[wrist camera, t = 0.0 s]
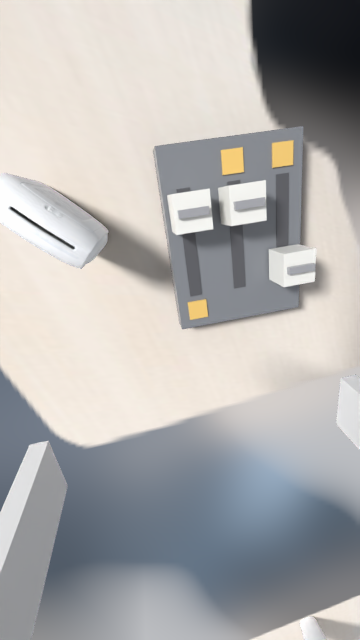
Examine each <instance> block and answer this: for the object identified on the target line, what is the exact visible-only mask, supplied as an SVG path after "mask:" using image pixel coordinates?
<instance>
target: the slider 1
mask: <svg viewBox="0 0 360 640" xmlns="http://www.w3.org/2000/svg"><path fill="white" fill-rule="evenodd" d="M167 200H168V207H169V213H170V220H171V227H172V232H173V233H175V234H176V235H180V234H186V233H193V232H199V231H205V230H211V229H213V220H212V209H211V197H210V188H209V189H203V190H196V191H189V192H183V193H176V194H170V195H167Z"/></svg>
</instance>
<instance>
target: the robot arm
mask: <svg viewBox="0 0 360 640" xmlns="http://www.w3.org/2000/svg"><path fill="white" fill-rule="evenodd" d="M336 419H337V420H336V425H337V426H338V427H339V428H340V429H341V430H342V431H343V432H344V433H345V435H346V436H347V437H348V438H349V439H350V440H351V441H352V442H353V443H354V444H355V445H356V446H357V447H358V449H359V450H360V377H359V376H357V375H352V376H347V377H342V378H341V379H340V388H339V398H338V408H337V418H336ZM66 490H67V483H66V481H65V479H64V476H63V474H62V471H61V469H60V467H59V464H58V462H57V460H56V457H55V455H54V453H53V450H52V448H51V446H50V443H49V441H45V442H40V443H36V444H31V445H30V446H29V448H28V450H27V452H26V455H25V457H24V459H23V461H22V464H21V466H20V468H19V471H18V473H17V475H16V478H15V480H14V482H13V485H12V487H11V489H10V491H9V494H8V496H7V498H6V501H5V503H4V505H3V508H2V510H1V512H0V640H31V638H32V634H33V630H34V626H35V622H36V617H37V613H38V609H39V605H40V600H41V596H42V592H43V588H44V583H45V579H46V575H47V570H48V567H49V562H50V558H51V554H52V550H53V545H54V541H55V537H56V533H57V529H58V524H59V520H60V516H61V511H62V507H63V503H64V499H65V495H66Z"/></svg>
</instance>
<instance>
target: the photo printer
mask: <svg viewBox="0 0 360 640" xmlns="http://www.w3.org/2000/svg"><path fill="white" fill-rule="evenodd" d="M0 223H1V224H3V225H4V226H6V227H7V228H8V229H10V230H11V231H13V232H14V233H16V234H17V235H19V236H20V237H22V238H23V239H25V240H26V241H28V242H29V243H31V244H33V245H34V246H36V247H38V248H39V249H41V250H43V251H44V252H46V253H48V254H50V255H51V256H53V257H55V258H57V259H59V260H61V261H62V262H64V263H67V264H69V265H71V266H74V267H77V268H80V269H81V268H83V267H84V265H85V264H87V263H89V262H91V261H92V260H93V259H94V258H95V257H96V256H97V255H98V254H99V252H100V251H101V250H102V249H103V248H104V247H105V245H106V244H107V241H108V232H109V231H108V230H107V228H106V227H105V226H103V225H102V224H101V223H100V222H99V221H97V220H96V219H95V218H94V217H92V216H91V215H89V214H88V213H87V212H85V211H84V210H83V209H81V208H80V207H78V206H77V205H76V204H74V203H73V202H71V201H70V200H69V199H67V198H66V197H64V196H63V195H61V194H60V193H58V192H57V191H55V190H54V189H52V188H51V187H49V186H47V185H45V184H43V183H41V182H39V181H35V180H31V179H27V178H23V177H19V176H15V175H11V174H8V173H1V174H0Z"/></svg>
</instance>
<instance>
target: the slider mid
mask: <svg viewBox="0 0 360 640" xmlns="http://www.w3.org/2000/svg"><path fill="white" fill-rule="evenodd" d="M218 194H219V206H220V219H221V224H223V225H228V226H236V225H242V224H248V223H254V222H260V221H266V220H267V213H266V180H263V181H256V182H249V183H243V184H236V185H229V186H224V187H220V188H218Z"/></svg>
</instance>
